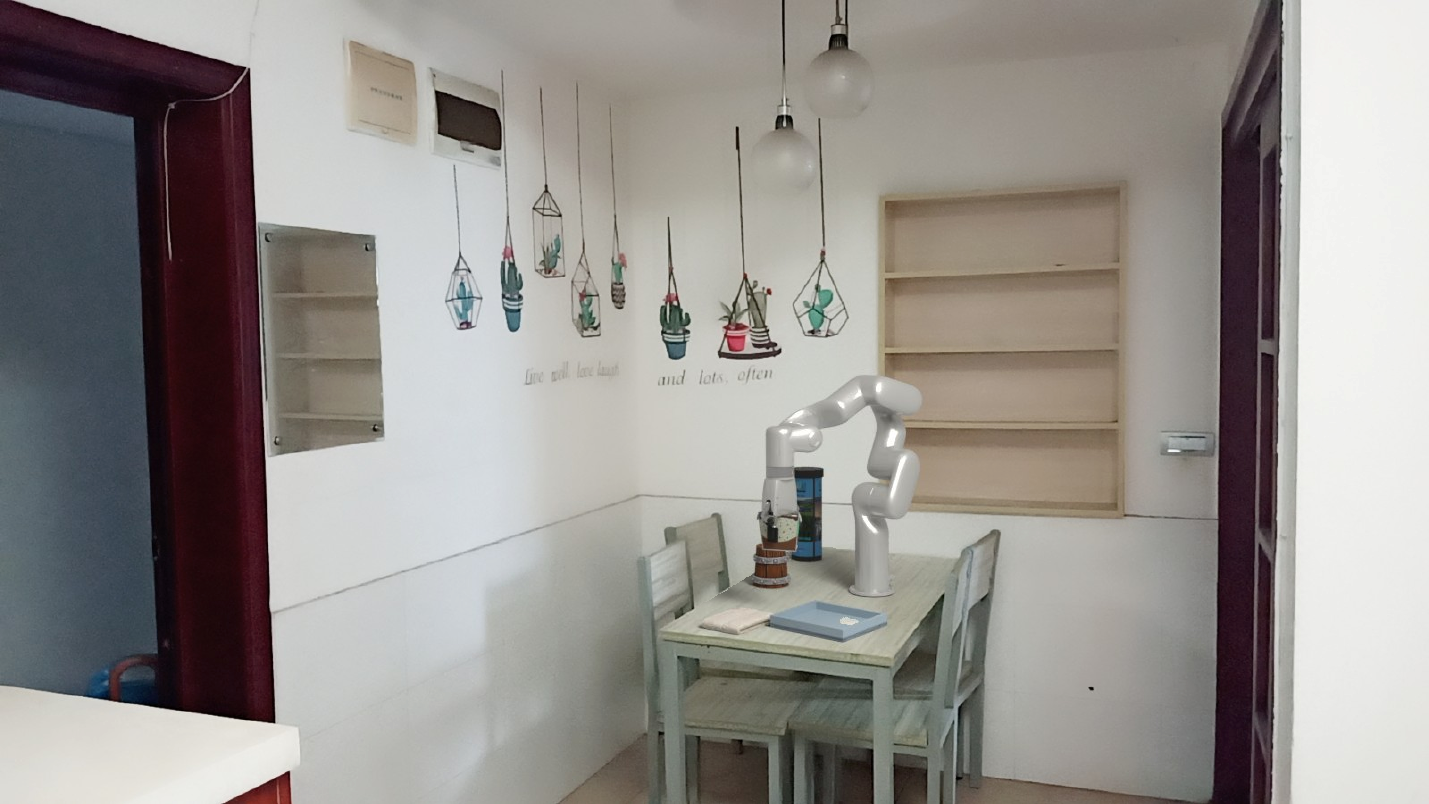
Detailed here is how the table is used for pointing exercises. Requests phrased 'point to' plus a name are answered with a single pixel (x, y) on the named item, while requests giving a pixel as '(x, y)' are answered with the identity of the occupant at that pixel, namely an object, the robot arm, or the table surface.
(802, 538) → the advertising column
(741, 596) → the table surface
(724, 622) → the washcloth
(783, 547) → the food container
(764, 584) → the mug
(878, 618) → the tray
